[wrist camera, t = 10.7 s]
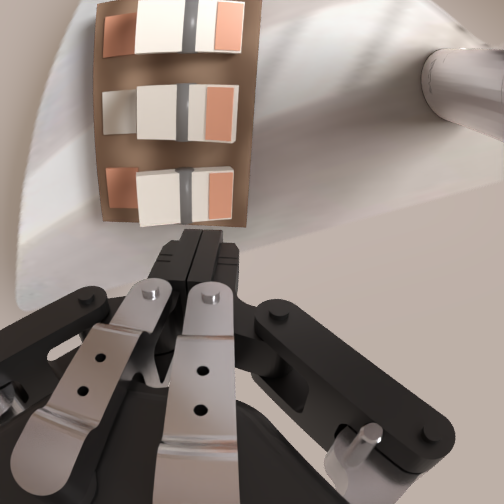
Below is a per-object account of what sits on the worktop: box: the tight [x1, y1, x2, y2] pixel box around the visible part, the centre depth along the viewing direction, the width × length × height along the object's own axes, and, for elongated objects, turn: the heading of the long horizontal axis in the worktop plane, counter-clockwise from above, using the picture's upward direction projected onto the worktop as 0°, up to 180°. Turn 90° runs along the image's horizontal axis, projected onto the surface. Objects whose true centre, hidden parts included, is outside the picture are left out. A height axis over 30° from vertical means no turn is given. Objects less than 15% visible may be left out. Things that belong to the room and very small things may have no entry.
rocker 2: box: [137, 83, 239, 143], centre depth 26 cm, size 9×5×2 cm, turn 86°
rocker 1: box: [135, 0, 245, 55], centre depth 22 cm, size 9×5×2 cm, turn 87°
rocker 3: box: [136, 166, 234, 227], centre depth 30 cm, size 9×5×2 cm, turn 87°
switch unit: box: [93, 0, 262, 227], centre depth 29 cm, size 16×24×4 cm, turn 176°
